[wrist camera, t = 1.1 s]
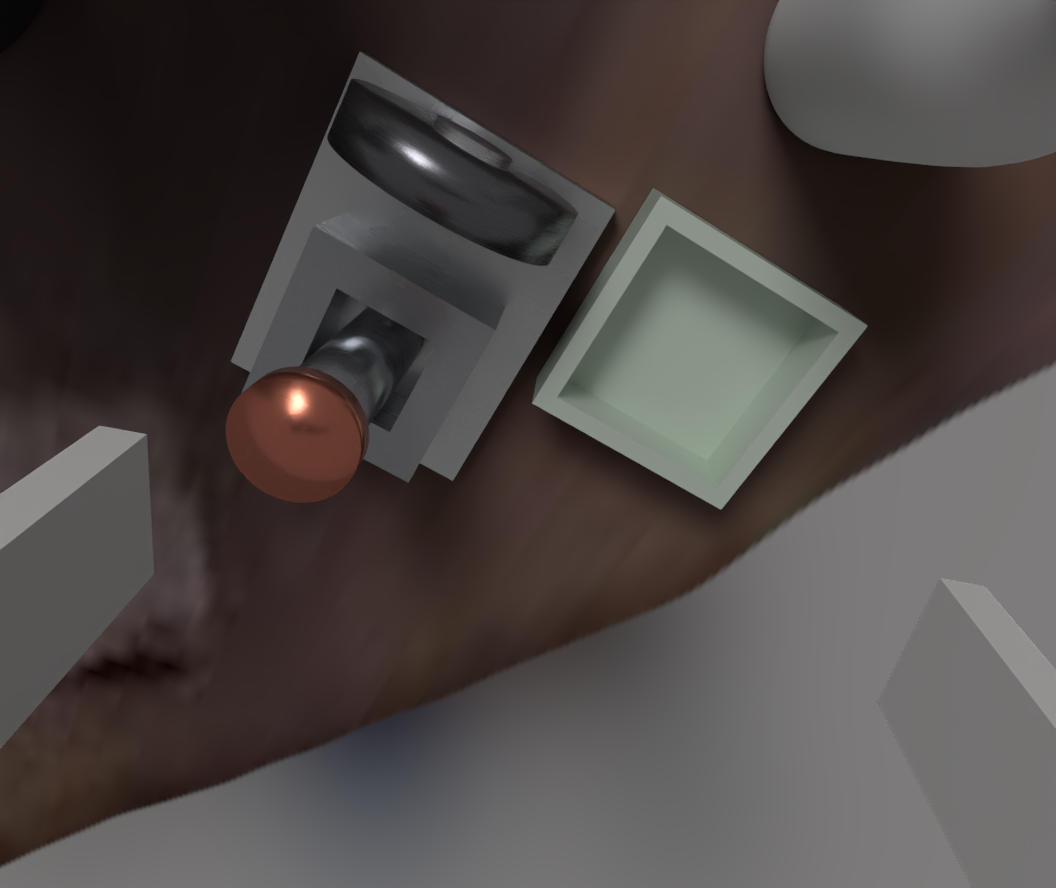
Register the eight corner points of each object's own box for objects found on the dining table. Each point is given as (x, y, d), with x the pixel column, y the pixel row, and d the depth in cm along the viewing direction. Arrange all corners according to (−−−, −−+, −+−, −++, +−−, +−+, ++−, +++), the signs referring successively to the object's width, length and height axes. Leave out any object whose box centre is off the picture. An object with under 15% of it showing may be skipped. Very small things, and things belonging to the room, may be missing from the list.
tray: (536, 377, 36) (531, 403, 32) (653, 187, 32) (660, 195, 28) (708, 475, 37) (721, 509, 34) (839, 305, 33) (868, 325, 30)
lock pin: (328, 351, 34) (206, 462, 23) (365, 274, 33) (253, 353, 22) (408, 395, 35) (326, 524, 24) (448, 321, 34) (381, 422, 22)
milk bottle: (874, 188, 31) (1286, 286, 13) (721, 93, 30) (932, 52, 12) (1007, 1, 28) (1786, -215, 10) (841, -112, 27) (1371, -587, 9)
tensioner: (241, 354, 36) (122, 436, 27) (367, 53, 30) (272, 24, 21) (456, 470, 38) (415, 584, 29) (614, 206, 32) (627, 242, 23)
